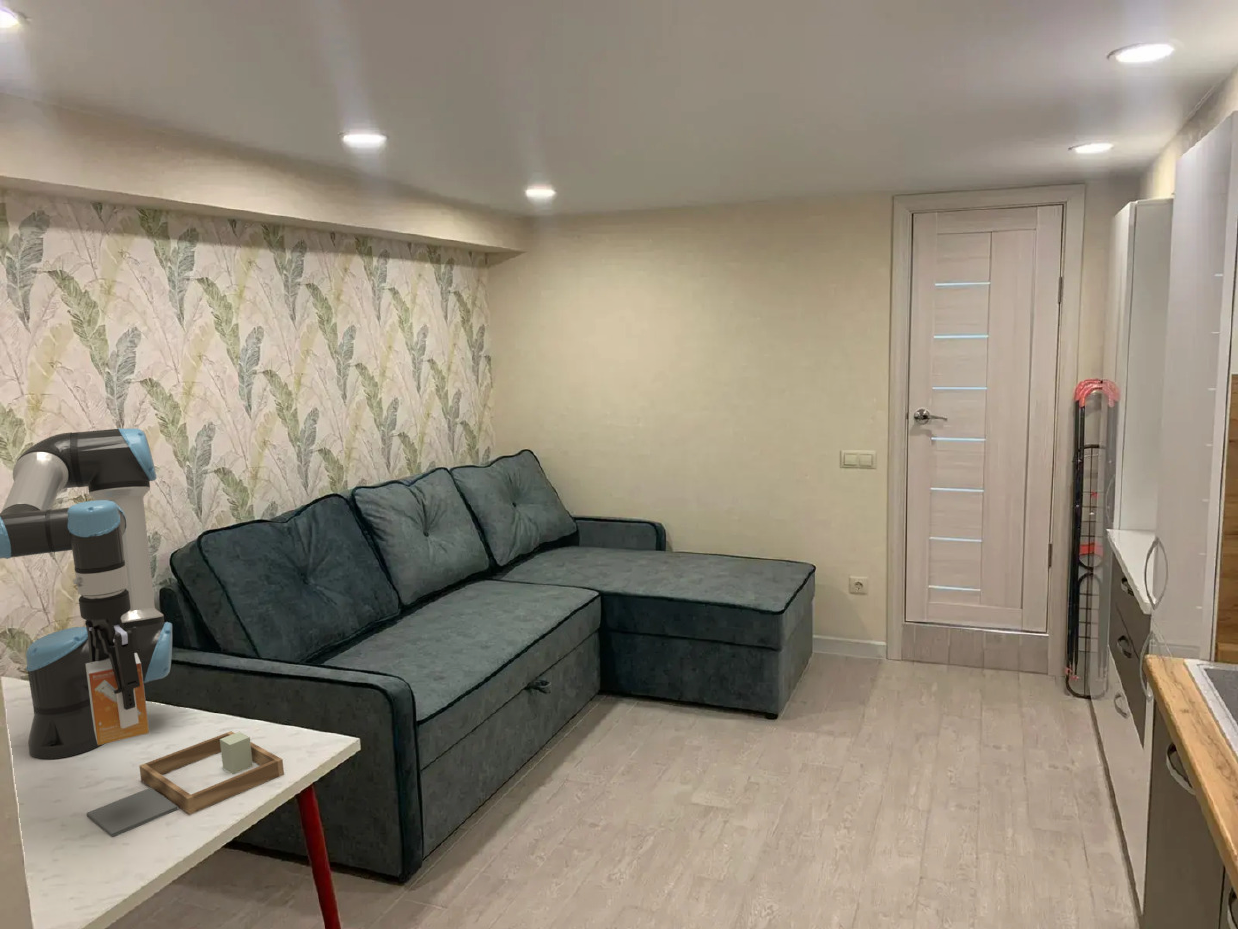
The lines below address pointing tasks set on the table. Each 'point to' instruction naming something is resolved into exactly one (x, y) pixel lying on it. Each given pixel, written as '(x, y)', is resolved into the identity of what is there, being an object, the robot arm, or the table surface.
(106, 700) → the small box
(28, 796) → the table surface
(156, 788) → the bin
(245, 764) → the sage block
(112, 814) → the mat
